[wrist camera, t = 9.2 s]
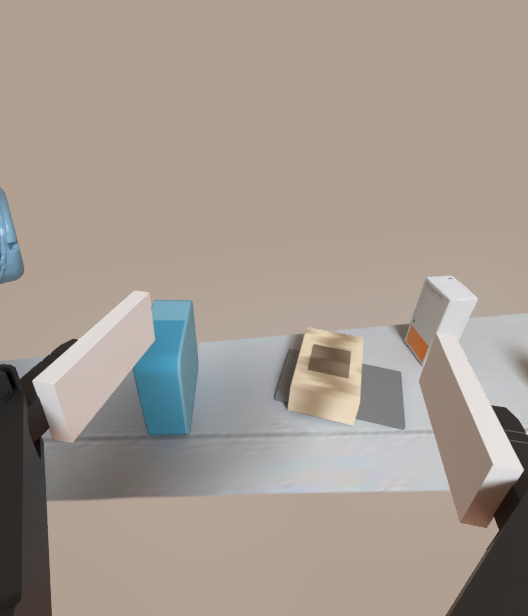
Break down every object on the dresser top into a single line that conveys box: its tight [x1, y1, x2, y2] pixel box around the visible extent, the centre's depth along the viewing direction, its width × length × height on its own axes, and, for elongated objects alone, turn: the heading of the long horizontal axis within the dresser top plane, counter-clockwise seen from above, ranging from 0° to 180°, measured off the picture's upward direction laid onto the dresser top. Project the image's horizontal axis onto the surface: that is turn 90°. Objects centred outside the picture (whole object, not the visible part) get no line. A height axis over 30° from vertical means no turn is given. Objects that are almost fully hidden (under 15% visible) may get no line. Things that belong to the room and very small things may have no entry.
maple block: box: [288, 327, 363, 426], centre depth 47 cm, size 8×4×12 cm
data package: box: [133, 300, 198, 435], centre depth 42 cm, size 12×4×12 cm, turn 4°
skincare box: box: [404, 276, 478, 367], centre depth 51 cm, size 6×4×12 cm
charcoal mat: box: [275, 349, 405, 430], centre depth 48 cm, size 16×10×1 cm, turn 75°
